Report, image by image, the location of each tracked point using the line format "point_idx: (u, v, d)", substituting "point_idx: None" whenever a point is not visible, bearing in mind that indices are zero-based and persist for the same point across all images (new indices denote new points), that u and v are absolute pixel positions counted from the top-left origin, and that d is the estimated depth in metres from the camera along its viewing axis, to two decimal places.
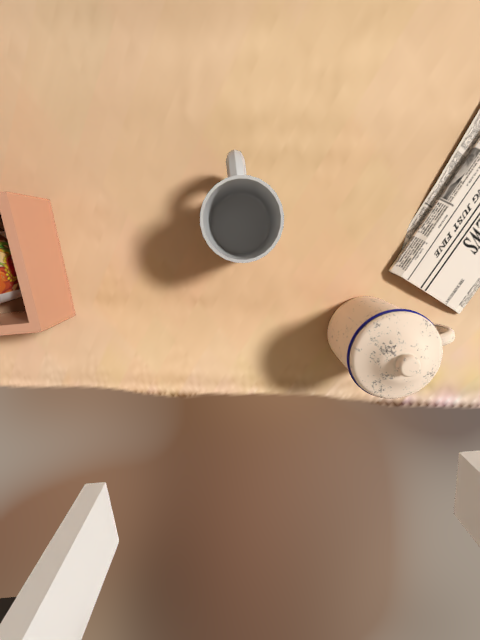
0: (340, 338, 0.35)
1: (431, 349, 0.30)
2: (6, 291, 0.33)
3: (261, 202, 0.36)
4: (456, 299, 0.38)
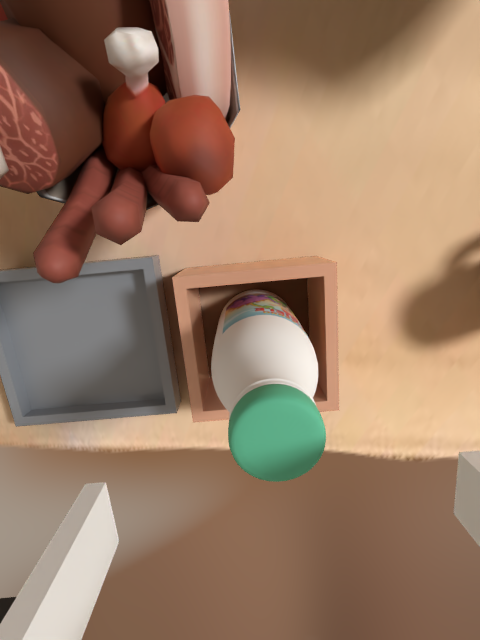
0: None
1: None
2: None
3: None
4: None
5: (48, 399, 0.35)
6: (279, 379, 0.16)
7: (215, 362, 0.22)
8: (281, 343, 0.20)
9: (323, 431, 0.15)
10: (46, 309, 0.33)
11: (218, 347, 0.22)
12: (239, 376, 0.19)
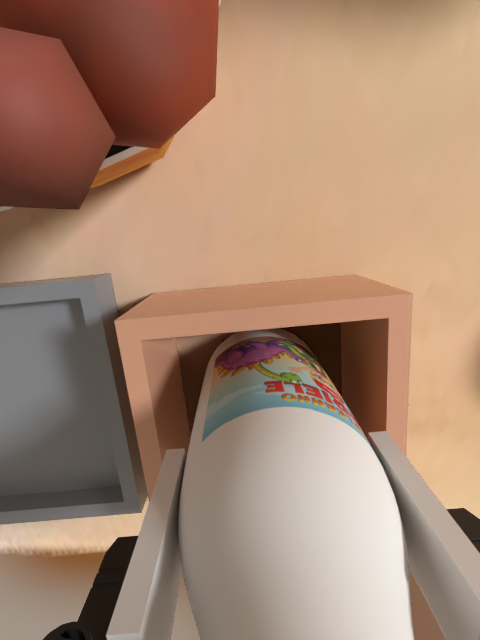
0: None
1: None
2: None
3: None
4: None
5: None
6: None
7: (183, 523, 0.10)
8: (335, 508, 0.08)
9: None
10: None
11: (191, 482, 0.11)
12: (235, 632, 0.07)
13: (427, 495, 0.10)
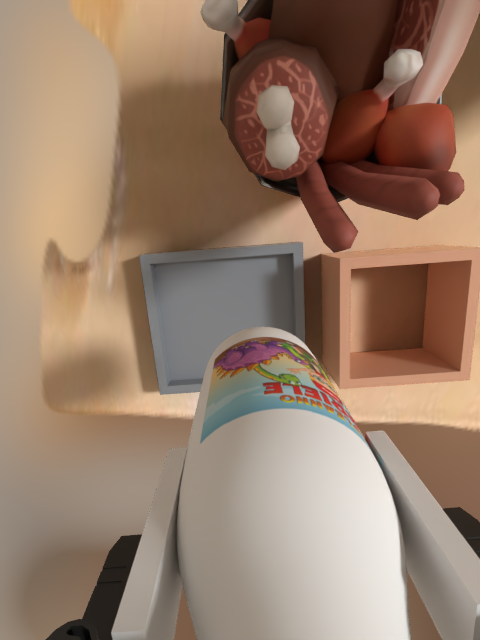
0: None
1: None
2: None
3: None
4: None
5: (186, 371, 0.39)
6: None
7: (180, 524, 0.10)
8: (332, 511, 0.08)
9: None
10: (196, 288, 0.37)
11: (189, 484, 0.11)
12: (232, 636, 0.07)
13: (423, 494, 0.10)
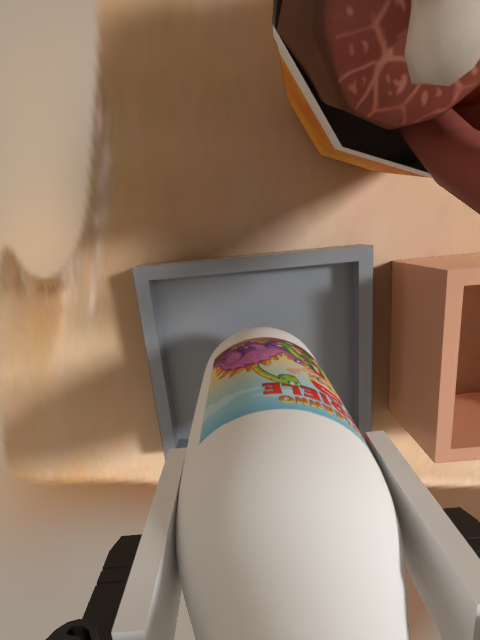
0: None
1: None
2: None
3: None
4: None
5: None
6: None
7: (179, 525, 0.10)
8: (331, 512, 0.08)
9: None
10: (214, 313, 0.26)
11: (188, 485, 0.11)
12: (230, 637, 0.07)
13: (424, 494, 0.10)
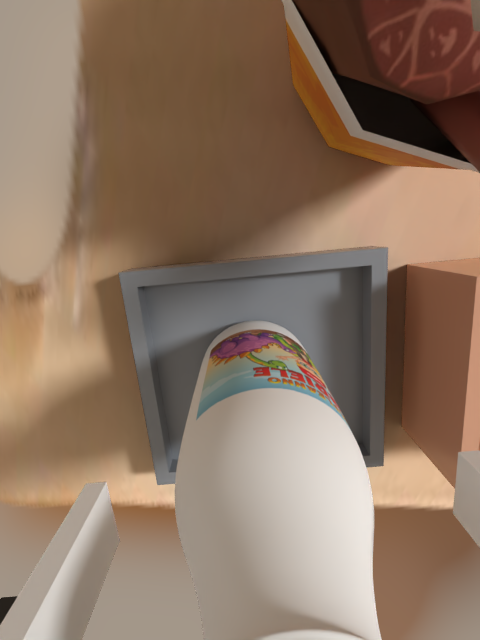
0: None
1: None
2: None
3: None
4: None
5: None
6: (319, 635, 0.06)
7: (178, 487, 0.11)
8: (308, 468, 0.10)
9: None
10: (211, 322, 0.23)
11: (186, 453, 0.12)
12: (220, 564, 0.08)
13: None
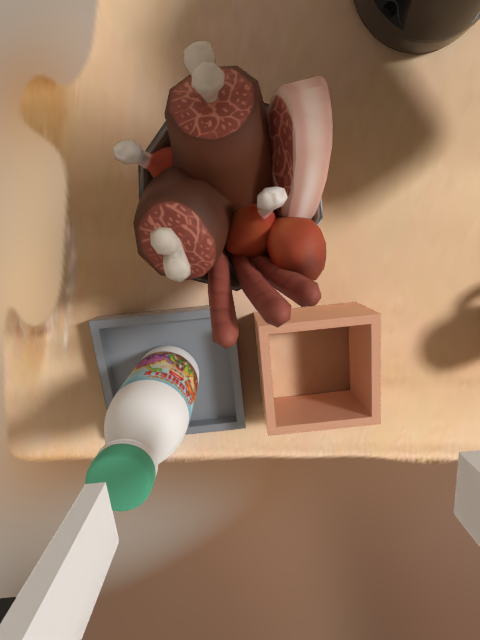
0: None
1: None
2: None
3: None
4: None
5: None
6: (127, 439, 0.24)
7: (105, 418, 0.29)
8: (146, 406, 0.27)
9: (147, 477, 0.23)
10: (142, 346, 0.41)
11: (109, 406, 0.30)
12: (110, 433, 0.26)
13: None
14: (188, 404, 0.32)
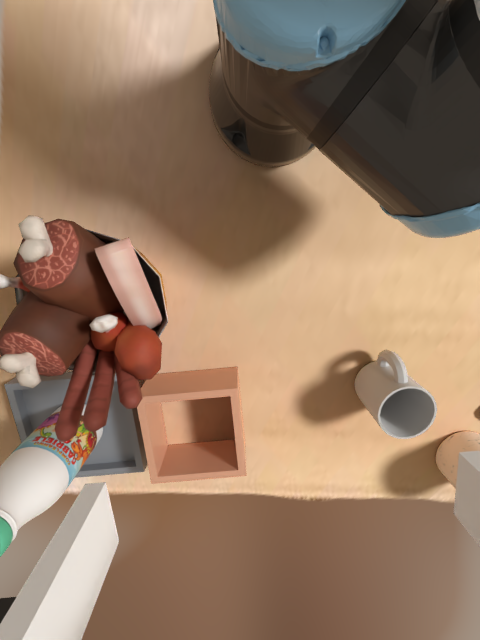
0: (456, 473, 0.47)
1: None
2: (85, 460, 0.45)
3: None
4: None
5: None
6: None
7: None
8: (20, 474, 0.35)
9: None
10: (54, 402, 0.48)
11: None
12: None
13: None
14: (69, 465, 0.39)
